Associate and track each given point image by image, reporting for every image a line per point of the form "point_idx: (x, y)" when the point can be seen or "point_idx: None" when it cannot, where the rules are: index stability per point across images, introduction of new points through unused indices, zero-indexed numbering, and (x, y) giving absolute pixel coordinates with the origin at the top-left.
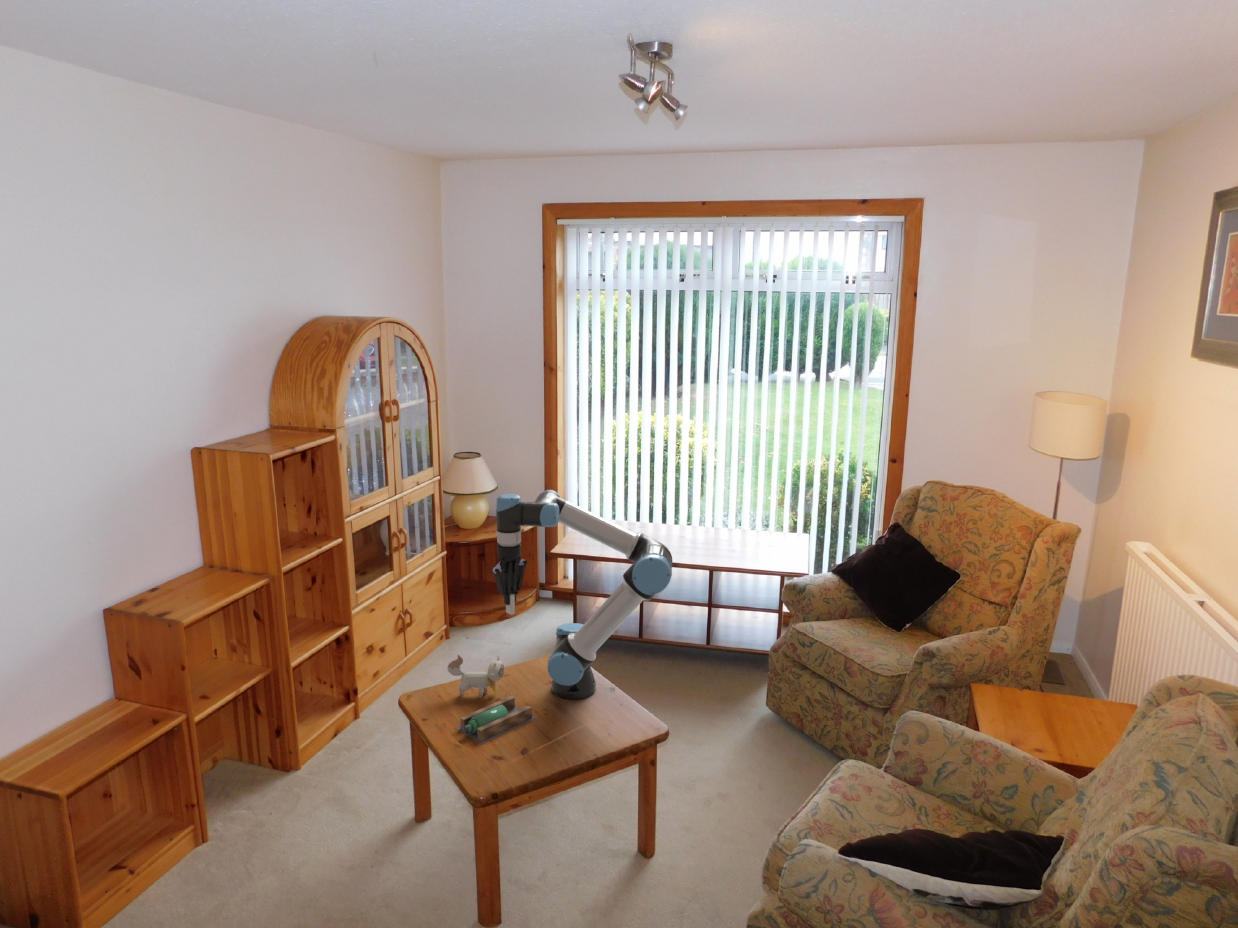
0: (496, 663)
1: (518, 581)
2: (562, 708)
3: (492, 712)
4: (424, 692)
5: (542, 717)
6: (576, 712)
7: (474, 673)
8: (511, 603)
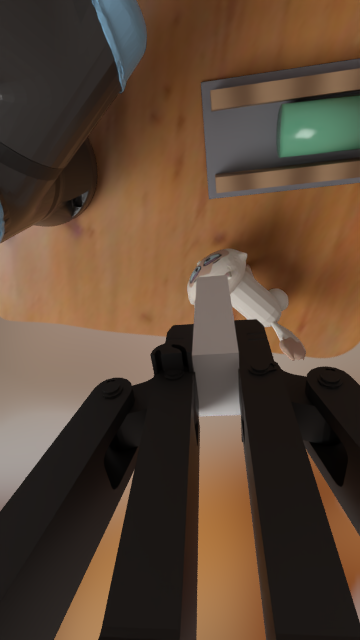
0: None
1: (96, 472)
2: None
3: (333, 114)
4: (312, 354)
5: (184, 79)
6: None
7: (257, 306)
8: (229, 311)
